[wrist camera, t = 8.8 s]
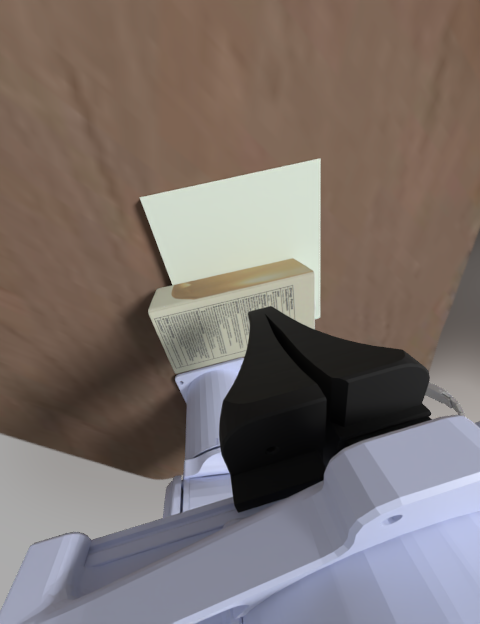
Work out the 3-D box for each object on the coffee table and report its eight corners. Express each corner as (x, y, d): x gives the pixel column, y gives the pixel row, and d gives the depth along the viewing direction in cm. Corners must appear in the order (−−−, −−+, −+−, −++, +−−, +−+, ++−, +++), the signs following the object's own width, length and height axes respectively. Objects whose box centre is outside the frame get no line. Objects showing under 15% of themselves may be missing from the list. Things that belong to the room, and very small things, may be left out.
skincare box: (176, 344, 22) (296, 317, 23) (173, 376, 18) (316, 342, 19) (154, 284, 19) (294, 255, 20) (144, 307, 15) (318, 271, 16)
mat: (316, 314, 24) (320, 317, 23) (196, 345, 23) (196, 350, 23) (315, 159, 17) (320, 158, 16) (142, 197, 16) (139, 197, 15)
